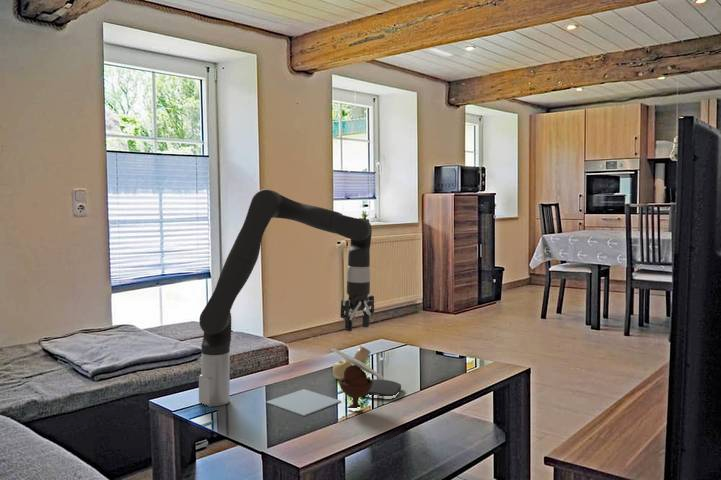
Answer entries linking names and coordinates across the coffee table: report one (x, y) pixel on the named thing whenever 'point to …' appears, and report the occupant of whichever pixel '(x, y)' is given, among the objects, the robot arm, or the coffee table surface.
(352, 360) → the cover sheet
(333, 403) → the rubber mat
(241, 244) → the robot arm
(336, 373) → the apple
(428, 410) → the coffee table surface
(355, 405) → the ice cream bowl
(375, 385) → the media streaming box
